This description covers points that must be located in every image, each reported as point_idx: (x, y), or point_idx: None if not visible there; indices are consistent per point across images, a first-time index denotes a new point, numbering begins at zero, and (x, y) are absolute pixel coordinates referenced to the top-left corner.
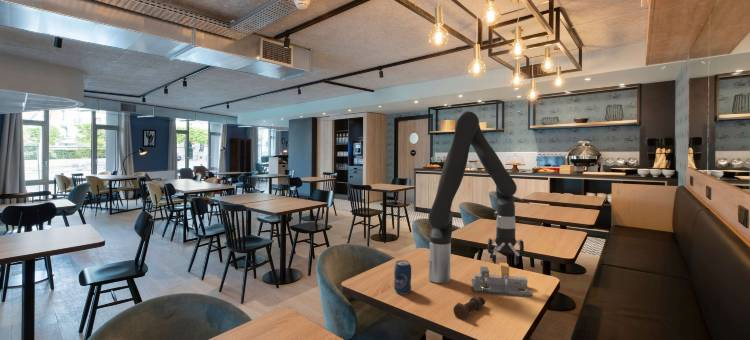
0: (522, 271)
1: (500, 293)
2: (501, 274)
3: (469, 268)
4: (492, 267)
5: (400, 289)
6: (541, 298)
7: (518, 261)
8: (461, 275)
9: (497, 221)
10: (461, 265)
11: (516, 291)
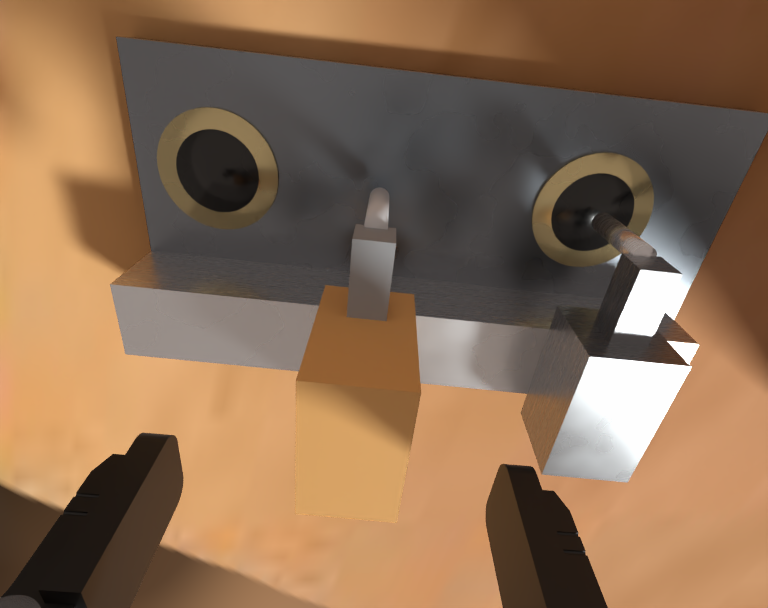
0: None
1: (476, 80)
2: (415, 322)
3: None
4: (360, 574)
5: None
6: (28, 10)
7: (92, 485)
8: (661, 462)
9: None
10: None
11: (283, 121)
